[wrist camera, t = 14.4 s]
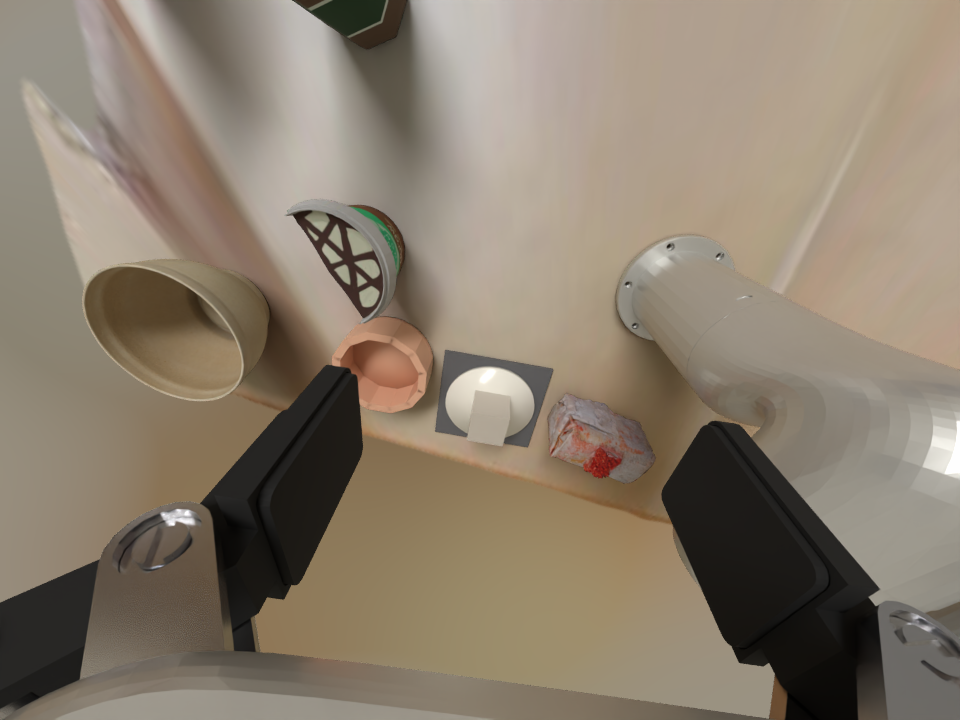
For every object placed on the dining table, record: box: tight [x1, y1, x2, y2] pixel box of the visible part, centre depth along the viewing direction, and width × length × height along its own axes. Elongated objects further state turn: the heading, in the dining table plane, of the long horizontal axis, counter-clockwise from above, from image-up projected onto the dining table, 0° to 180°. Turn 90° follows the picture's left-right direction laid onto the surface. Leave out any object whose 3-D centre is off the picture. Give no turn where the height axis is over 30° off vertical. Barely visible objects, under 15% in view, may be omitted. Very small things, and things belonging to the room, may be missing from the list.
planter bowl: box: [82, 259, 270, 401], centre depth 41 cm, size 16×16×11 cm
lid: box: [445, 366, 534, 446], centre depth 48 cm, size 13×13×6 cm
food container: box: [285, 199, 405, 324], centre depth 35 cm, size 12×6×10 cm, turn 25°
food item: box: [548, 393, 656, 483], centre depth 47 cm, size 14×8×10 cm, turn 68°
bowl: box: [332, 316, 433, 413], centre depth 46 cm, size 12×12×5 cm
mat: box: [435, 350, 553, 447], centre depth 51 cm, size 15×15×1 cm
